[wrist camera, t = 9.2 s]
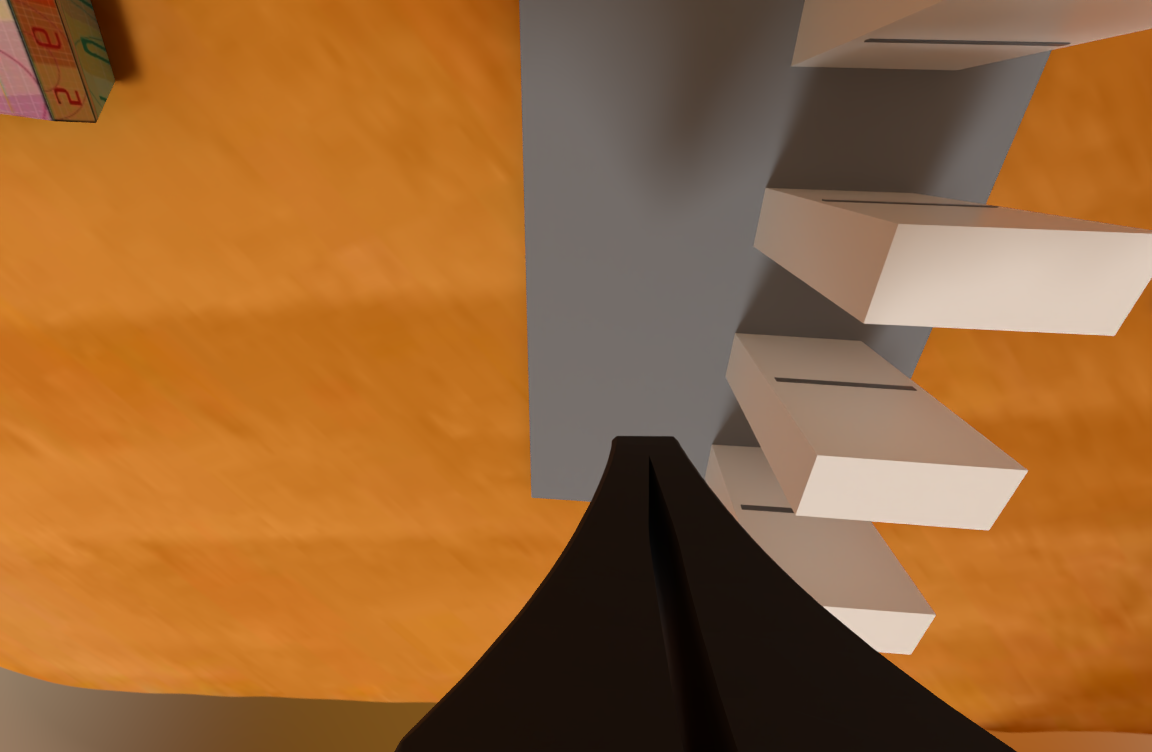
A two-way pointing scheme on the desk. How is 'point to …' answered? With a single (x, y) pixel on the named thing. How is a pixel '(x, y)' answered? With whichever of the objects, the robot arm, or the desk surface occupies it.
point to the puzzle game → (52, 61)
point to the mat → (706, 206)
